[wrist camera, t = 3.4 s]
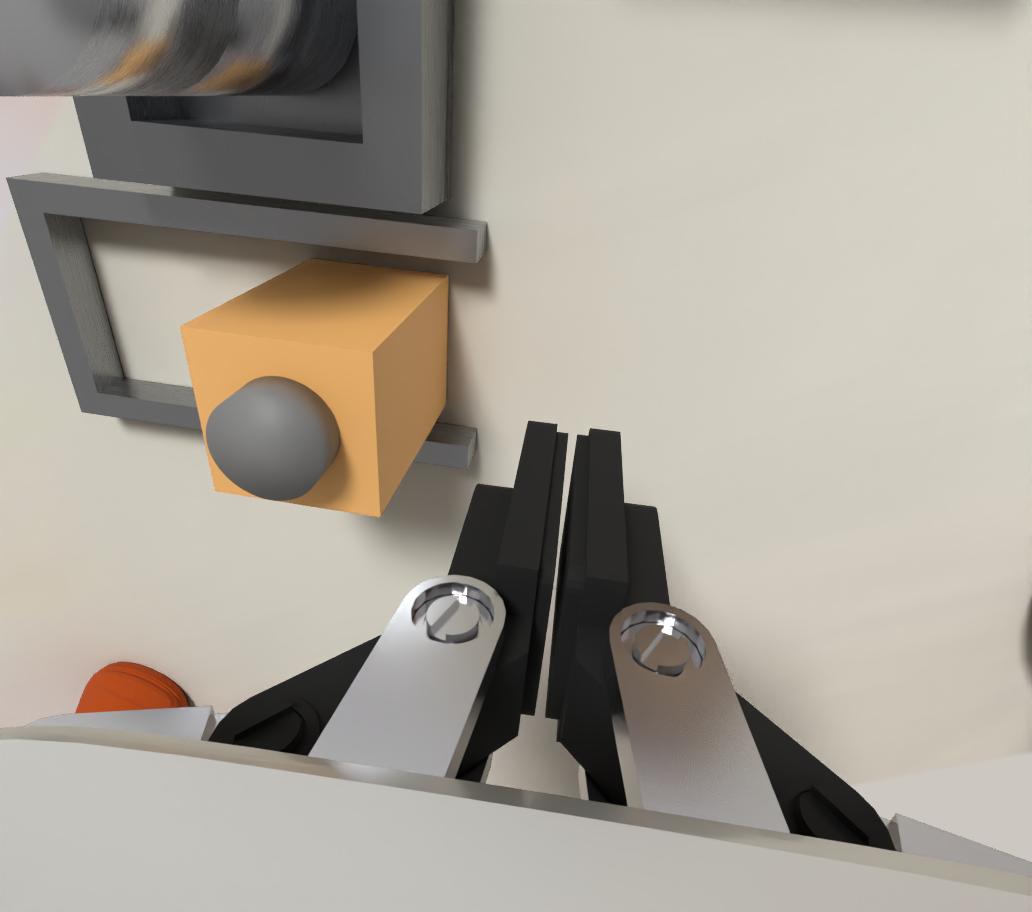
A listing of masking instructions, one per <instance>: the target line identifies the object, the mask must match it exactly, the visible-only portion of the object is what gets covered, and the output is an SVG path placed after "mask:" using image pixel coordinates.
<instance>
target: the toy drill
mask: <svg viewBox="0 0 1032 912" xmlns="http://www.w3.org/2000/svg"><path fill="white" fill-rule="evenodd" d="M182 707H188V704H187V700H186V697H185V695H184V694H183V692H182V690H181V688H179V687H178V686H177V685H176V684H175V683H174V682H173V681H171V680H170V679H169V678H167V677H166V676H164V675H163V674H161V673H159V672H157V671H155V670H153V669H150V668H148V667H145V666H142V665H139V664H134V663H129V662H117V663H113V664H109V665H108V666H106V667H104V668H102V669H101V670H99V671H98V672H97V673H95V674H94V675H93V677H92V678H91V679H90V681H89V682H88V683H87V685H86V687H85V689H84V692H83V694H82V696H81V699H80V702H79V704H78V707H77V710H76V712H75V714H77V713H94V712H112V711H129V710H147V709H164V708H182Z"/></svg>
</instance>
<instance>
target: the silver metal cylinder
mask: <svg viewBox="0 0 1032 912" xmlns="http://www.w3.org/2000/svg"><path fill="white" fill-rule="evenodd" d="M357 29H358V22H357V0H0V96H295V95H301V94H306V93H309V92H312V91H315V90H317V89H318V88H320V87H322V86H324V85H325V84H326V83H328V82H329V81H330V80H332V78H333V77H334V76H335V75H336V74H337V73H338V72H339V71H340V69H341V68H342V66H343V65H344V64H345V62H346V60H347V58H348V56H349V54H350V52H351V50H352V47H353V44H354V41H355V37H356V33H357Z"/></svg>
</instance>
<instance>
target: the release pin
mask: <svg viewBox="0 0 1032 912" xmlns="http://www.w3.org/2000/svg"><path fill="white" fill-rule="evenodd" d="M448 282H449V275H445V274H437V273H428V272H420V271H411V270H403V269H395V268H386V267H378V266H370V265H361V264H353V263H345V262H336V261H328V260H320V259H309V260H307V261H305V262H303V263H301V264H299V265H297V266H296V267H294V268H292V269H290V270H288V271H286V272H284V273H282V274H280V275H278V276H276V277H274V278H272V279H271V280H269V281H267V282H265V283H263V284H261V285H259V286H257V287H255V288H253V289H251V290H249V291H247V292H246V293H244V294H242V295H240V296H238V297H236V298H234V299H232V300H230V301H228V302H226V303H224V304H222V305H220V306H219V307H217V308H215V309H213V310H211V311H209V312H207V313H205V314H203V315H201V316H199V317H197V318H195V319H194V320H192V321H190V322H188V323H186V324H184V325H182V326H180V329H181V333H182V338H183V343H184V347H185V352H186V357H187V362H188V366H189V371H190V376H191V380H192V385H193V390H194V394H195V399H196V404H197V408H198V413H199V418H200V422H201V427H202V432H203V436H204V441H205V446H206V451H207V455H208V460H209V465H210V469H211V474H212V479H213V483H214V488H215V491H218V492H224V493H230V494H237V495H243V496H249V497H255V498H262V499H268V500H274V501H281V502H287V503H293V504H300V505H306V506H312V507H318V508H325V509H331V510H337V511H344V512H350V513H356V514H363V515H369V516H375V517H381V515H382V513H383V512H384V510H385V508H386V507H387V505H388V503H389V501H390V500H391V498H392V496H393V495H394V493H395V491H396V489H397V488H398V486H399V484H400V483H401V481H402V479H403V477H404V476H405V474H406V472H407V470H408V469H409V467H410V465H411V464H412V462H413V460H414V458H415V457H416V455H417V453H418V452H419V450H420V448H421V446H422V445H423V443H424V441H425V440H426V438H427V436H428V434H429V433H430V431H431V429H432V428H433V426H434V424H435V422H436V421H437V419H438V417H439V416H440V414H441V412H442V410H443V409H444V407H445V405H446V383H447V333H448Z"/></svg>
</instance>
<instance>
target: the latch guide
mask: <svg viewBox="0 0 1032 912" xmlns="http://www.w3.org/2000/svg"><path fill="white" fill-rule="evenodd" d="M6 179H7V182H8V185H9V189H10V192H11V195H12V198H13V201H14V204H15V207H16V210H17V213H18V216H19V219H20V223H21V226H22V229H23V232H24V235H25V238H26V241H27V244H28V247H29V250H30V254H31V257H32V260H33V263H34V266H35V269H36V272H37V275H38V278H39V281H40V284H41V288H42V291H43V294H44V297H45V300H46V303H47V306H48V309H49V312H50V315H51V318H52V322H53V325H54V328H55V331H56V334H57V337H58V340H59V343H60V346H61V349H62V353H63V356H64V359H65V362H66V365H67V368H68V371H69V374H70V377H71V380H72V383H73V387H74V390H75V393H76V396H77V399H78V402H79V405H80V408H81V411H82V412H85V413H91V414H98V415H105V416H112V417H118V418H125V419H132V420H138V421H145V422H152V423H158V424H165V425H172V426H178V427H185V428H192V429H199V430H202V427H201V422H200V418H199V413H198V408H197V404H196V399H195V394H194V390H193V388H190V387H183V386H176V385H169V384H162V383H155V382H148V381H141V380H134V379H127V378H124V376H123V372H122V369H121V365H120V361H119V358H118V354H117V351H116V347H115V343H114V340H113V336H112V332H111V329H110V325H109V321H108V318H107V314H106V310H105V307H104V303H103V300H102V296H101V292H100V289H99V285H98V281H97V278H96V274H95V270H94V267H93V263H92V259H91V256H90V252H89V249H88V245H87V241H86V238H85V234H84V230H83V227H82V223H81V219H80V217H84V218H92V219H101V220H109V221H118V222H126V223H135V224H143V225H152V226H160V227H169V228H177V229H186V230H194V231H203V232H211V233H220V234H228V235H237V236H245V237H254V238H262V239H271V240H279V241H288V242H296V243H305V244H313V245H322V246H330V247H339V248H347V249H356V250H364V251H373V252H381V253H390V254H398V255H407V256H415V257H424V258H432V259H441V260H449V261H458V262H466V263H475V264H476V263H477V262H478V261H479V260H480V259H481V257H482V256H483V255H484V254H485V249H486V228H487V222H481V221H472V220H463V219H454V218H445V217H436V216H427V215H418V214H409V213H400V212H391V211H382V210H373V209H364V208H355V207H346V206H337V205H328V204H319V203H310V202H301V201H292V200H283V199H274V198H265V197H256V196H247V195H238V194H229V193H220V192H211V191H202V190H193V189H184V188H175V187H166V186H157V185H148V184H139V183H130V182H121V181H112V180H103V179H94V178H85V177H76V176H67V175H58V174H49V173H37V174H30V175H22V176H15V177H8V178H6ZM476 431H477V428H470V427H463V426H456V425H449V424H442V423H435V424H434V426H433V428H432V429H431V431H430V433H429V434H428V436H427V438H426V440H425V441H424V443H423V445H422V446H421V448H420V450H419V452H418V453H417V455H416V457H415V458H414V460H413V462H419V463H426V464H433V465H440V466H446V467H453V468H460V469H466V470H467V469H468V467H469V464H470V462H471V460H472V457H473V455H474V453H475V450H476Z"/></svg>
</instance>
